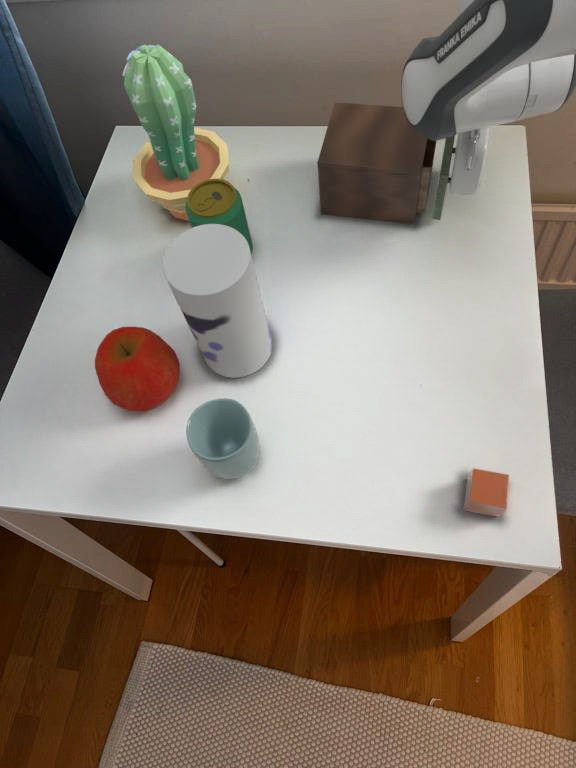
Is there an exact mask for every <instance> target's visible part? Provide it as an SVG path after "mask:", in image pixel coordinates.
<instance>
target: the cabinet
mask: <svg viewBox="0 0 576 768" xmlns="http://www.w3.org/2000/svg"><path fill="white" fill-rule="evenodd" d="M426 144H427V137H425V136H423V135H422V134H420V133H419V132H418V131H416V130H415V129H414V128H413V127H412V126H411V125H410V124H409V123H408V121H407V119H406V117H405V114H404V110H403V106H395V105H381V104H380V105H379V104H365V103H353V102H351V103H350V102H338V101H334V103H333V106H332V110H331V114H330V117H329V120H328V124H327V127H326V131H325V135H324V138H323V141H322V145H321V148H320V151H319V155H318V159H317V162H316V163H317V176H318V189H319V203H320V215H321V216H329V217H331V216H332V217H340V218H348V219H358V220H368V221H377V222H385V223H393V224H394V223H396V224H405V225H415V222H416V216H417V213H416V208H417V201H418V193H419V186H420V179H421V171H422V166H423V160H424V155H425V149H426Z"/></svg>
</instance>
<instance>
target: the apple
mask: <svg viewBox="0 0 576 768" xmlns="http://www.w3.org/2000/svg"><path fill="white" fill-rule="evenodd" d="M180 365H181V363H180V360H179V358H178V355H177V352H176V351H175V349H173V348H172V347H171V346H170V344H169V343H167V342H166V341H165V340H164V339H163V338H162V337H161V336H160V335H159V334H157V333H155V332H154V331H152V330H151V329H148V328H145V327H142V326H121V327H119V328H115V329H112V330H111V331H109V332H108V333H107V334H106V335H105V336H104V338H103V339H102V341H101V342H100V344H99V345H98V346H97V350H96V354H95V358H94V369H95V373H96V377H97V379H98V383H99V385H100V388H101V390H102V392H103V394H104V396H106V398H108V400H109V401H110V402H111V403H112V404H113V405H114V406H117V407H119V408H120V409H123V410H125V411H128V412H135V413H136V412H139V413H145V412H148V411H151V410H154V409H156V408H158V407H161V406H162V405H163V404H164V403H166V401H167V400H168V399H169V398H170V397H171V396H172V395H173V394H174V393H175V391H176V389H177V388H178V387H177V386H178V383H179V382H178V381H179V377H180V373H181V366H180Z"/></svg>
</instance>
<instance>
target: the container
mask: <svg viewBox="0 0 576 768" xmlns="http://www.w3.org/2000/svg"><path fill="white" fill-rule="evenodd" d="M161 264H162V266H161V267H162V273H163V275H164V278H165V280H166V283H167V284H168V286H169V288H170V290H171V292H172V295H173V296H174V299H175V300H176V303H177V305H178V307H179V309H180V311H181V313H182V315H183V317H184V319H185V322H186V324H187V326H188V328H189V330H190V332H191V334H192V336H193V338H194V340H195V342H196V345H197V346H198V349H199V351H200V352H201V355H202V357H203V358H204V362H205V363H206V365H207V366H208V368H209V369H210V370H212V371H213V372H214V373H216V374H218V375H219V376H222V377H226V378H232V379H233V378H235V379H236V378H243V377H247V376H249V375H252V374H254V373H256V372H257V371H259V370H260V369H261V368H263V367H264V366H265V364H266V363H267V362H268V360H269V359H270V356H271V355H272V351H273V345H274V344H273V338H272V332H271V329H270V324H269V321H268V317H267V313H266V308H265V305H264V302H263V297H262V292H261V288H260V284H259V281H258V276H257V272H256V269H255V263H254V261H253V256H252V253H251V252H250V248H249V245H248V242H247V241H246V239H245V238H244V236H243V235H242V234H241V233H240V232H238V231H237V230H235V229H233V228H231V227H229V226H225V225H221V224H205V225H199V226H196V227H193V228H192V227H191V228H189V229H186V230H184V231H183V232H182V233H180V234H179V235H177V236H176V237H175V238H174V239H173V240H172V241H171V242H170V243H169V244H168V246H167V248H166V249H165V252H164V253H163V257H162V263H161Z"/></svg>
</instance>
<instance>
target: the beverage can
mask: <svg viewBox="0 0 576 768" xmlns="http://www.w3.org/2000/svg"><path fill="white" fill-rule="evenodd" d="M185 209H186V214H187V216H188V219H189V220H188V222H189V224H190V227H191V228H193V227H196V226H199V225H205V224H221V225H225V226H229V227H231V228H233V229H235V230H237V231H238V232H240V233H241V234H242V235H243V236H244V238H245V239H246V241H247V242H248V245H249V248H250V252H251V254H252V253H253V250H254V247H253V246H254V245H253V240H252V235H251V232H250V228H249V223H248V220H247V215H246V214H247V213H246V210H245V206H244V202H243V197H242V195H241V193H240V191H239V189H237V188H236V187H235V186H234V185H233V184H232V183H231V182H229V181H227V180H225V179H224V180H222V179H208V180H205V181H202V182H200V183H198V184H197V185H195V186H194V187H193V188H192V189H191V191H190V192H189V194H188V197H187V202H186V207H185Z"/></svg>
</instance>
